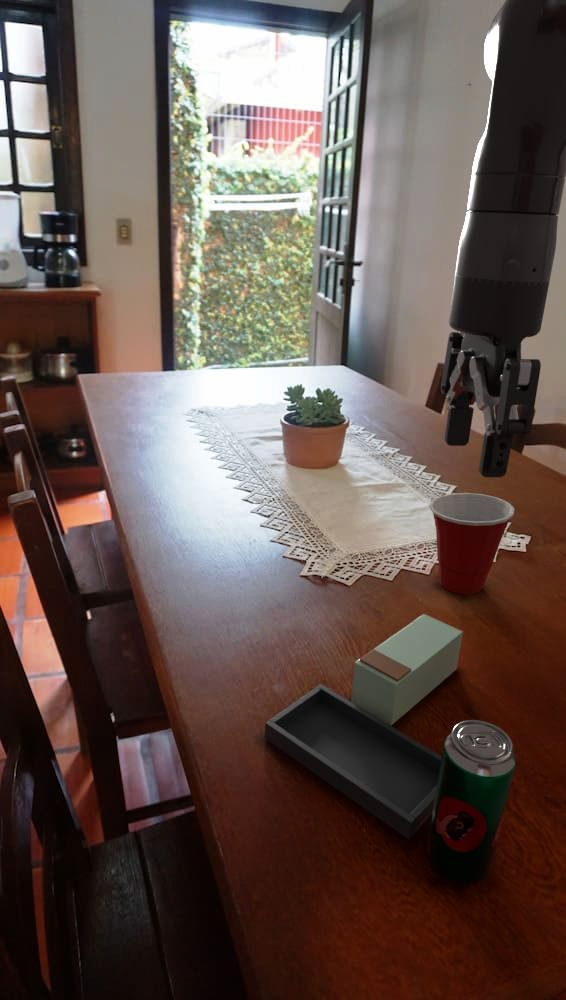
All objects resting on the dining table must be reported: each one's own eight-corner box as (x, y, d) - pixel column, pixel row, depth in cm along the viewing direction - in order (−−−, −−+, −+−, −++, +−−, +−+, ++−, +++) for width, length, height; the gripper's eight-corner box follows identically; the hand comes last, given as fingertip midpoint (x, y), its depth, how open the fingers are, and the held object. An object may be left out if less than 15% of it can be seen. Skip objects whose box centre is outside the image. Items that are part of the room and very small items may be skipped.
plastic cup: (434, 558, 101) (445, 482, 96) (508, 579, 96) (523, 500, 91) (407, 588, 92) (418, 507, 88) (487, 613, 87) (502, 528, 83)
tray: (319, 698, 71) (320, 683, 70) (459, 784, 61) (462, 768, 60) (264, 738, 65) (265, 722, 64) (408, 840, 55) (411, 822, 54)
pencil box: (418, 650, 79) (424, 611, 77) (456, 669, 76) (463, 629, 74) (350, 702, 70) (354, 660, 68) (391, 726, 67) (396, 682, 65)
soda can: (501, 887, 51) (530, 765, 47) (435, 890, 51) (458, 767, 46) (478, 831, 56) (503, 715, 51) (418, 833, 56) (437, 716, 51)
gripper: (591, 283, 50) (548, 488, 56) (508, 267, 63) (481, 435, 69) (494, 280, 49) (461, 489, 55) (430, 264, 62) (409, 435, 68)
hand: (472, 459), depth 62 cm, fingers open, 8 cm apart
